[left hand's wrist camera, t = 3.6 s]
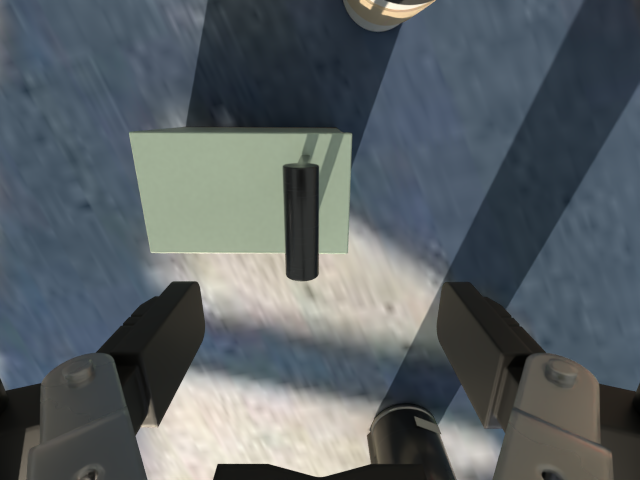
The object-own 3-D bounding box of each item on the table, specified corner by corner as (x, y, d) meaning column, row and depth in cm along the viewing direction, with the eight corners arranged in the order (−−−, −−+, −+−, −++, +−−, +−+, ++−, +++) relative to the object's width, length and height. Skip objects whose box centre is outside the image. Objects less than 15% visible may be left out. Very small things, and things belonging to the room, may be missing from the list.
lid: (351, 132, 25) (365, 140, 17) (347, 249, 29) (357, 302, 21) (135, 131, 25) (48, 138, 17) (155, 248, 29) (91, 301, 21)
